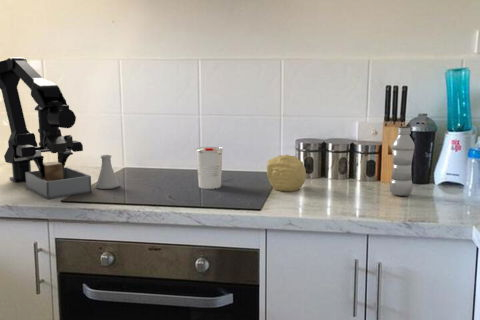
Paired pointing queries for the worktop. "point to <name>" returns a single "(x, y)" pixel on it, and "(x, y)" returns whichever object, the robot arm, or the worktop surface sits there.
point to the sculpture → (286, 173)
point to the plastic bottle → (402, 162)
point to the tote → (59, 184)
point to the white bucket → (209, 167)
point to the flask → (107, 174)
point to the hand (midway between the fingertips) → (52, 176)
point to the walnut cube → (53, 171)
